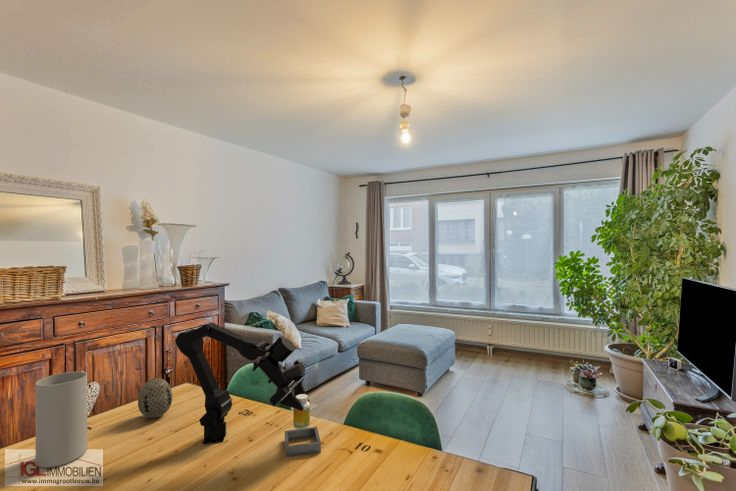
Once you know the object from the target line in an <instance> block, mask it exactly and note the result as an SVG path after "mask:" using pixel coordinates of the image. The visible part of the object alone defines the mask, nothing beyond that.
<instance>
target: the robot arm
mask: <svg viewBox="0 0 736 491" xmlns="http://www.w3.org/2000/svg"><path fill="white" fill-rule="evenodd" d="M207 337H208V338H210V339H212V340H214V341H217V342H219V343H221V344H224V345H226V346H228V347H231V348H233V349H235V350H236V351H238V353H239V355H240V356H242V357H243V358H244V359H247V361H250V362H251V361H253V367H252V371H253V372H255V371H256V370H258V369H260V371H261V372H263V373H264V375H265V376H266V377H267V378H268V380H267V383H268V384H271V383H272V384H273V385H274V386H275V387H276V390H275V392H274V393H273V394H272V395H271V396H270V397H269V403H270V405H271V406H272V407H273V408H274V407H276V406H277V404H279V405H283V406H287V407H289V408H295V409H297V410H300V411H302V410H303V409H304V408H303V406H302V405H301V403H300V402H299V400H298V399H297V398H296V396H297V395H299V394H305V395H307V396H308V394H307V393H306V390H305V388H304V378H303V377H305V376H306V373H305V372H306V368H305V365H306V363H304V361H302V360H300V358H299V359H296V360H294V361H293V365H291V366H289V367H288V365H282V364H281V363H283V362H285V361H286V359H287V358H289V357H290V356H291V355H292V354H293V353H294V352H295V351H296V346H295V344H294V343H293V342H292V340H290V339H288V338H286V337H284V336H283V335H280V336H279V337H278V338H277V339H276V341H274V343H270V342H266V341H265V340H263V339H261V338H257V337H251V336H250V337H249V336H243V335H240V334H238V333H236V332H234V331H232V330H229V329H227V328H225V327H222V326H220V325H218V324H216V323H215V322H208V323H205V324H203V325H202V326H200V327H197V328H191V329H188V330H185V331H182V332H179V333H178V334H177V336H176V337H175V340H174V342H175V345H176V347H177V349H179V351H180V353H181V354H183V355H184V356H185V357H187V358H188V360H189V362H190V364H191V366H192V369H193V371H194V374H195V376H196V378H197V381H198V383H199V385H200V388H201V389H202V392H203V394H204V397H205V398H204V410H205V413H204V415H202V416H201V418H200V419H199V423H200V426H201V427H203V441H202V444H203V445H207V444H215V443H222V442H224V440H225V437H226V436H227V421H225V419H226V418H225V417H227V416H228V413H229V412H230V411H231V410H232V407H233V402H232V401H233V398H232V397H231V394H230V392H229V390H228V389H226V390H223V389H221V388H220V386H219V384H218V382H217V380H216V377H215V375H214V373H213V370H212V368H211V366H210V364H209V362H208V359H207V357H206V355H205V352H204V338H207ZM257 359H259V360H257ZM308 402H309V403H310V398H308Z"/></svg>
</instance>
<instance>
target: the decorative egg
mask: <svg viewBox="0 0 736 491" xmlns="http://www.w3.org/2000/svg"><path fill="white" fill-rule="evenodd" d="M173 397H174V396H173V390H172V387H171V385H170V384H169V382H168V381H166V380H165V379H163V378H161V377H154V378H151V379H149V380H148V381H147V382H146V383H144V385H143V386H142V387H141V389H140V391H139V394H138V398H137V406H138V410H139V412H140V414H142V415H143V416H144V417H146V418H149V419H156V418H159V417H161V416H163V415H165V414H166V413H167V412H168V410H169V409H170V407H171V405H172V403H173Z"/></svg>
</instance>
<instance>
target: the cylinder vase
mask: <svg viewBox="0 0 736 491" xmlns="http://www.w3.org/2000/svg"><path fill="white" fill-rule="evenodd" d="M87 450H88V373H87V372H86V371H69V372H68V371H67V372H61V373H55V374H52V375H49V376H45V377H43V378H40V379H38V380H37V381H36V382H35V465H36V466H37V467H39V468H41V469H48V468H49V469H50V468H56V467H57V468H58V467H61V466H64V465H67V464H69V462H70V463H72V462H74V461H76V460H77V458H78V459H80V458H81V457H82V456H83V455H85V453H87ZM75 459H76V460H75ZM73 460H74V461H73ZM71 461H72V462H71Z"/></svg>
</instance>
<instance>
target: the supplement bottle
mask: <svg viewBox="0 0 736 491" xmlns="http://www.w3.org/2000/svg"><path fill="white" fill-rule="evenodd" d="M296 398H297V399H298V400H299V402H300V403H301V405H302V406H303V408H304V409H303V410H302V411H300V410H297V409H295V408H293V411H292V412H293V418H292V419H293V421H292V422H293V423H292V424H293V425H292V426H293V429H295V430H296V429H305V428H310V427H309V426H311V425H310V424H311V416H310V415H311V409H310V408H311V404H310V401H309V402H308V399H309V396H308V394H307V395H305V394H299V395H297V396H296Z"/></svg>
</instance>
